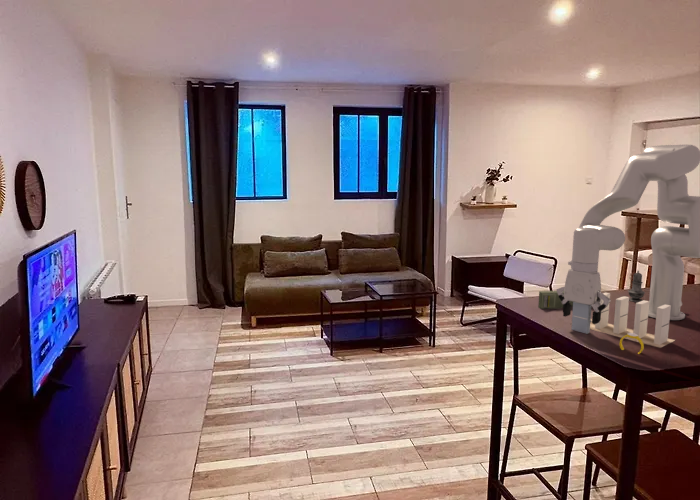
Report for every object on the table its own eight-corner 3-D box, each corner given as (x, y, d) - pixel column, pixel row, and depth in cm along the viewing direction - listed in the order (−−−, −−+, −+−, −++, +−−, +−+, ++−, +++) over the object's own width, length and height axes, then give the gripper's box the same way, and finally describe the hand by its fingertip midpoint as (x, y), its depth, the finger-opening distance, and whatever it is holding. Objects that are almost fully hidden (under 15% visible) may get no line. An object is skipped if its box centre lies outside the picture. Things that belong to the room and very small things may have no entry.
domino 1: (574, 330, 163) (576, 298, 161) (589, 335, 159) (591, 301, 157) (571, 331, 162) (573, 299, 160) (586, 336, 158) (588, 302, 156)
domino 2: (594, 327, 163) (596, 295, 161) (602, 324, 166) (605, 292, 164) (599, 329, 162) (602, 296, 160) (607, 325, 165) (610, 293, 163)
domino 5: (653, 343, 149) (656, 307, 147) (661, 339, 152) (664, 304, 150) (659, 344, 147) (663, 308, 145) (667, 340, 150) (671, 305, 148)
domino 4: (632, 337, 153) (635, 303, 152) (640, 334, 156) (643, 300, 155) (638, 339, 152) (641, 304, 150) (646, 335, 155) (649, 301, 153)
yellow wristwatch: (643, 356, 142) (646, 336, 141) (640, 358, 140) (643, 339, 139) (620, 349, 146) (623, 330, 145) (617, 351, 144) (620, 332, 143)
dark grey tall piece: (646, 302, 192) (649, 272, 190) (630, 302, 194) (632, 272, 192) (641, 298, 198) (643, 269, 196) (625, 298, 199) (627, 268, 197)
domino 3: (613, 332, 158) (615, 299, 156) (621, 329, 161) (623, 296, 159) (618, 334, 157) (621, 300, 155) (626, 330, 160) (629, 297, 158)
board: (585, 320, 173) (586, 317, 173) (675, 342, 151) (675, 339, 151) (569, 326, 168) (569, 323, 167) (660, 350, 145) (660, 347, 145)
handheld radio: (537, 307, 190) (602, 305, 191) (540, 310, 187) (607, 308, 187) (538, 290, 189) (604, 289, 189) (541, 293, 186) (608, 291, 186)
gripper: (552, 264, 161) (549, 315, 164) (605, 273, 148) (601, 328, 150) (565, 261, 166) (562, 311, 169) (618, 269, 152) (614, 323, 155)
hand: (580, 319), depth 160 cm, fingers open, 9 cm apart
